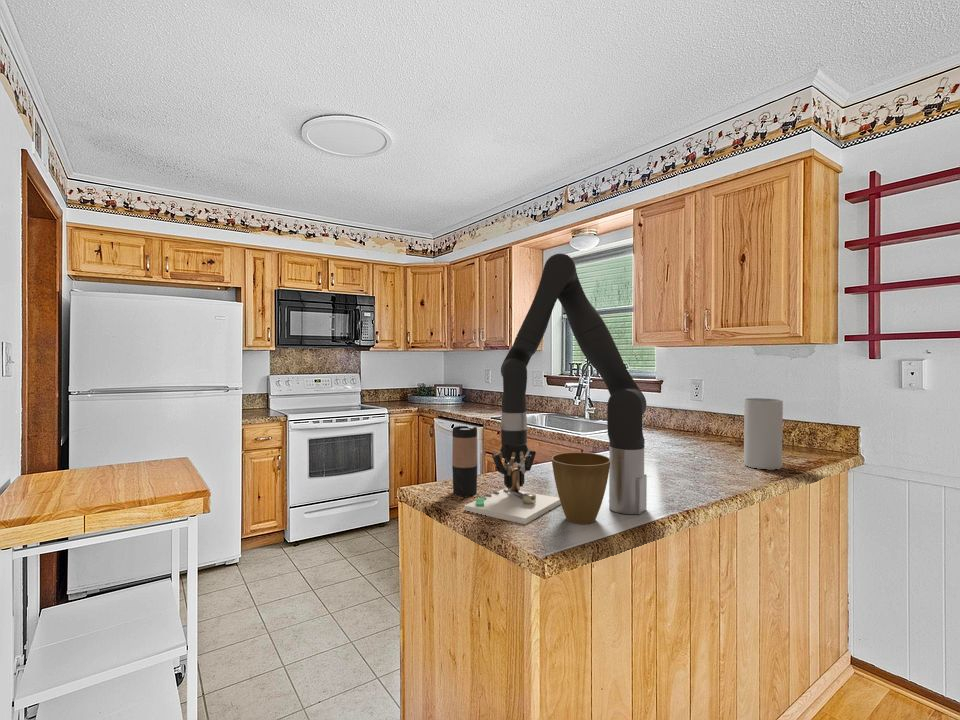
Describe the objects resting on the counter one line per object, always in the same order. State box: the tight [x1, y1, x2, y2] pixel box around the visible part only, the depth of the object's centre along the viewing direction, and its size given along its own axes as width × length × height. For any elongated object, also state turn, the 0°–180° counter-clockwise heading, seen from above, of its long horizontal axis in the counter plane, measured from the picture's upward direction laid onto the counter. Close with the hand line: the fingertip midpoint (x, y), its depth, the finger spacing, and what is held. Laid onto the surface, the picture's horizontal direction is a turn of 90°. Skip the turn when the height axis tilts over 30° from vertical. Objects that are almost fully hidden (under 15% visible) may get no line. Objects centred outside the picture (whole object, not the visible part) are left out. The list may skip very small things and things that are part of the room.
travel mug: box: [451, 425, 478, 497], centre depth 157 cm, size 8×8×20 cm
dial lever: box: [507, 468, 536, 504], centre depth 146 cm, size 14×4×7 cm, turn 23°
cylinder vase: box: [743, 397, 784, 471], centre depth 192 cm, size 12×12×25 cm
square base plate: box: [463, 487, 561, 525], centre depth 144 cm, size 20×21×2 cm
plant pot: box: [551, 451, 611, 525], centre depth 133 cm, size 15×15×16 cm
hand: (514, 486), depth 149 cm, fingers closed on dial lever, 3 cm apart
